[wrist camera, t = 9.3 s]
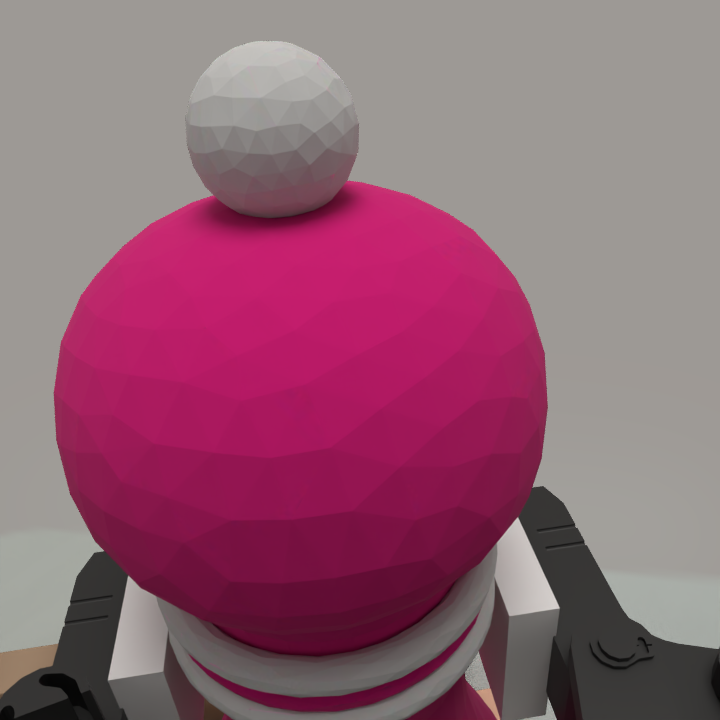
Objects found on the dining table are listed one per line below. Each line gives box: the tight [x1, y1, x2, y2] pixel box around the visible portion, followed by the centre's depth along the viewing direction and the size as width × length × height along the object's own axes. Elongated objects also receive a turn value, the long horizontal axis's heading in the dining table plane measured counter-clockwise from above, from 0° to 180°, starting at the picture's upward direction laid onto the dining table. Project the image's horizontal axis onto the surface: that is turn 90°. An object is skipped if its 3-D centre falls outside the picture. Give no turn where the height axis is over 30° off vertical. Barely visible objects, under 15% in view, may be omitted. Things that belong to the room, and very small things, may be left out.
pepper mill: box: [54, 41, 548, 720], centre depth 12 cm, size 7×7×20 cm
